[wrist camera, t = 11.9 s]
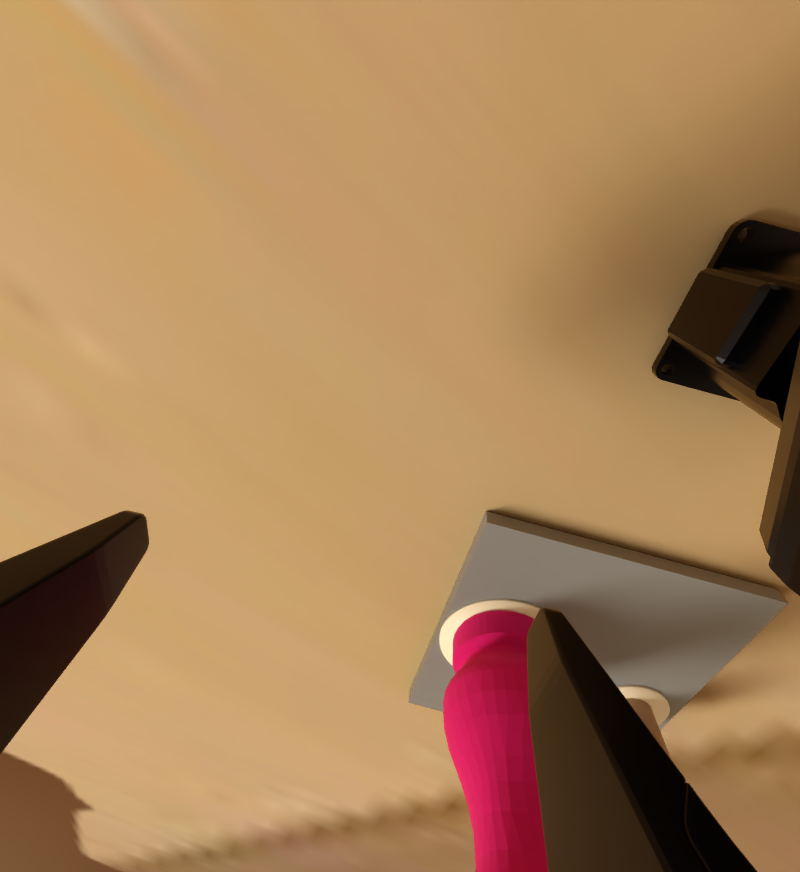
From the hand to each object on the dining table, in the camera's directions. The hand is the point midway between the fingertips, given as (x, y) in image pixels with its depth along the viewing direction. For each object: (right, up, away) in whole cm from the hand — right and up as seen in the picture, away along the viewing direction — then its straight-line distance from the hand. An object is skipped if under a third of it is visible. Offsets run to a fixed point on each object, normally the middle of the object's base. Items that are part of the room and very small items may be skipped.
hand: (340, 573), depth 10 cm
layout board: (+12, -11, +19) cm, 25 cm away
